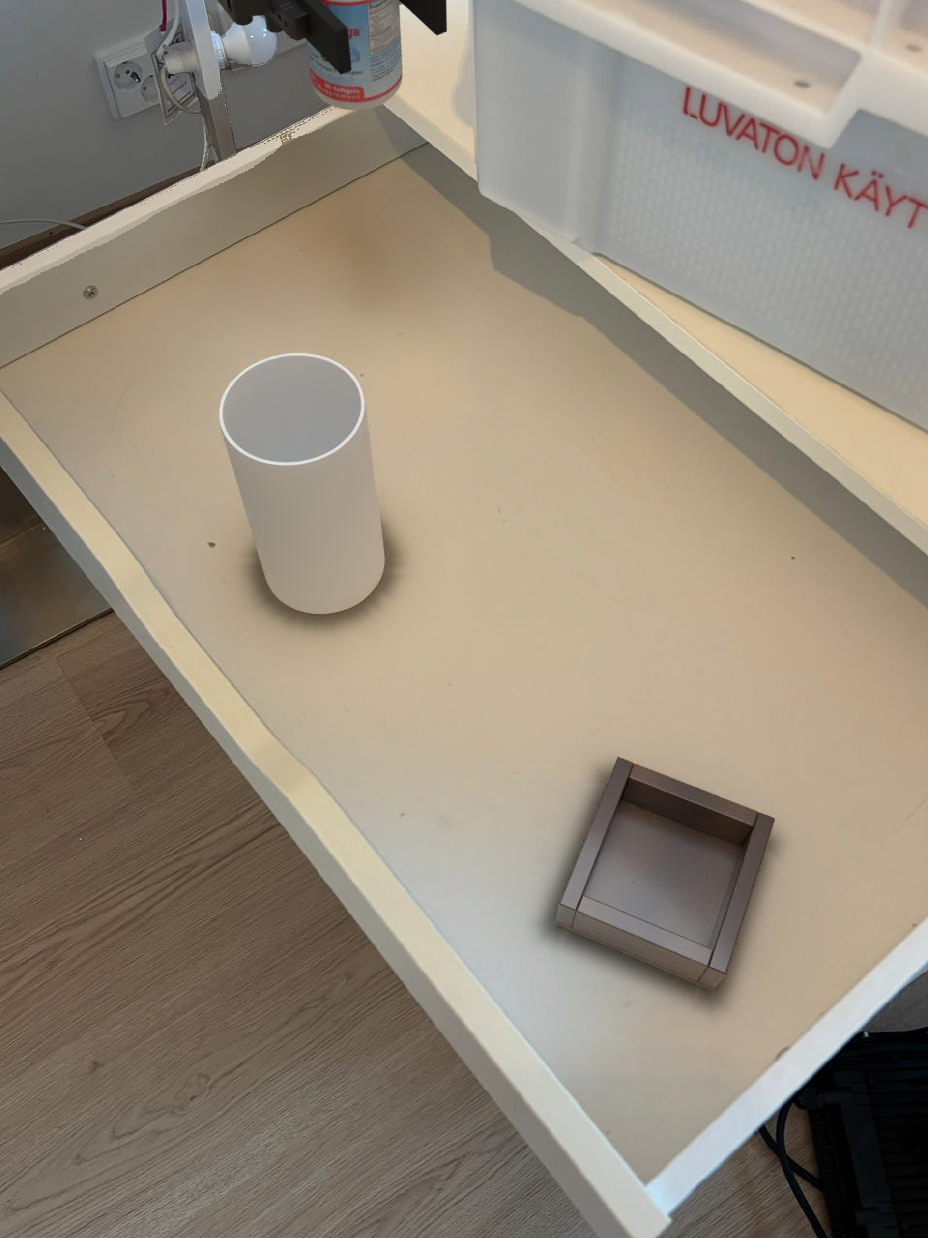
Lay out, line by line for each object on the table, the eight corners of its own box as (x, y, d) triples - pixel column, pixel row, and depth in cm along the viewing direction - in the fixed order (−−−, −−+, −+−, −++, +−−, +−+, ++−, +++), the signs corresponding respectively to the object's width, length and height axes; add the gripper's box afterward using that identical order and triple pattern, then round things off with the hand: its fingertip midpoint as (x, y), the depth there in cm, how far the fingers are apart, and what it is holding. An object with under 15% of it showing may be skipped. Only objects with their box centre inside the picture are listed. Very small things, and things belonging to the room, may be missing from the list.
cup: (322, 637, 75) (288, 491, 61) (238, 565, 78) (187, 410, 64) (409, 559, 78) (395, 402, 64) (325, 493, 81) (295, 330, 67)
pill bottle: (293, 90, 75) (266, -86, 66) (353, 45, 78) (336, -131, 68) (363, 126, 74) (347, -49, 64) (422, 79, 76) (415, -98, 66)
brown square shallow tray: (554, 924, 65) (558, 903, 62) (610, 782, 70) (617, 756, 66) (712, 991, 63) (726, 974, 60) (759, 842, 68) (775, 818, 64)
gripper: (340, -124, 83) (522, 35, 74) (100, -40, 78) (262, 144, 69) (329, -243, 77) (527, -85, 67) (67, -159, 72) (240, 26, 62)
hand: (393, 30), depth 68 cm, fingers closed on pill bottle, 6 cm apart
